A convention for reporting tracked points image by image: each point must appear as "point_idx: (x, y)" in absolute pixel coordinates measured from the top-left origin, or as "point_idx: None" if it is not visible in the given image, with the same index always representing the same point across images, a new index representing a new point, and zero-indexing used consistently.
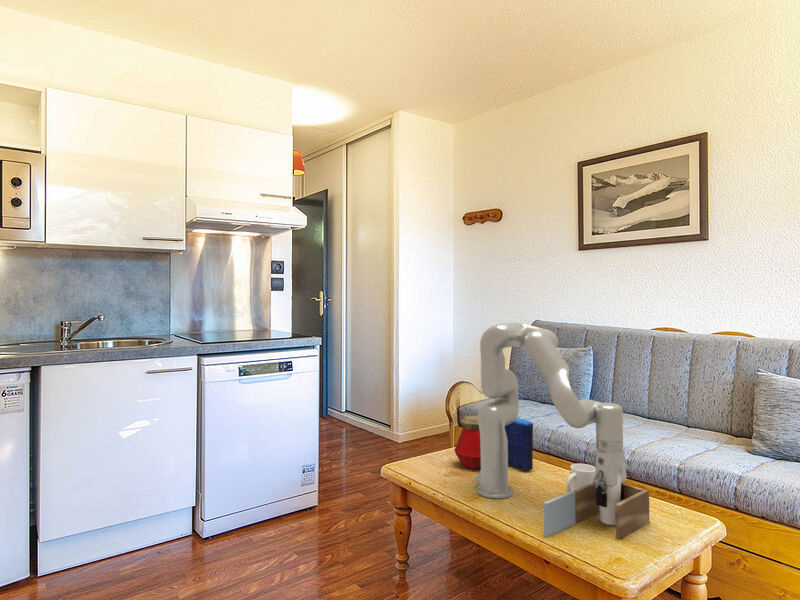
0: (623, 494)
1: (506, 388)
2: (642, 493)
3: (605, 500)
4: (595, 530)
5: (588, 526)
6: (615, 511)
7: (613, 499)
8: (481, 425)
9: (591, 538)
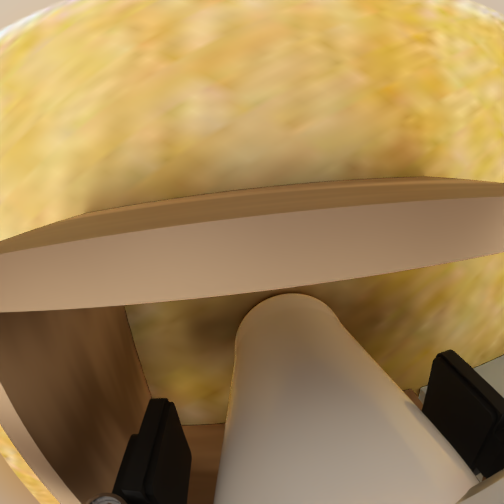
0: (155, 424)
1: None
2: (27, 261)
3: (478, 380)
4: (425, 306)
5: (410, 349)
6: None
7: (393, 387)
8: None
9: (490, 261)
